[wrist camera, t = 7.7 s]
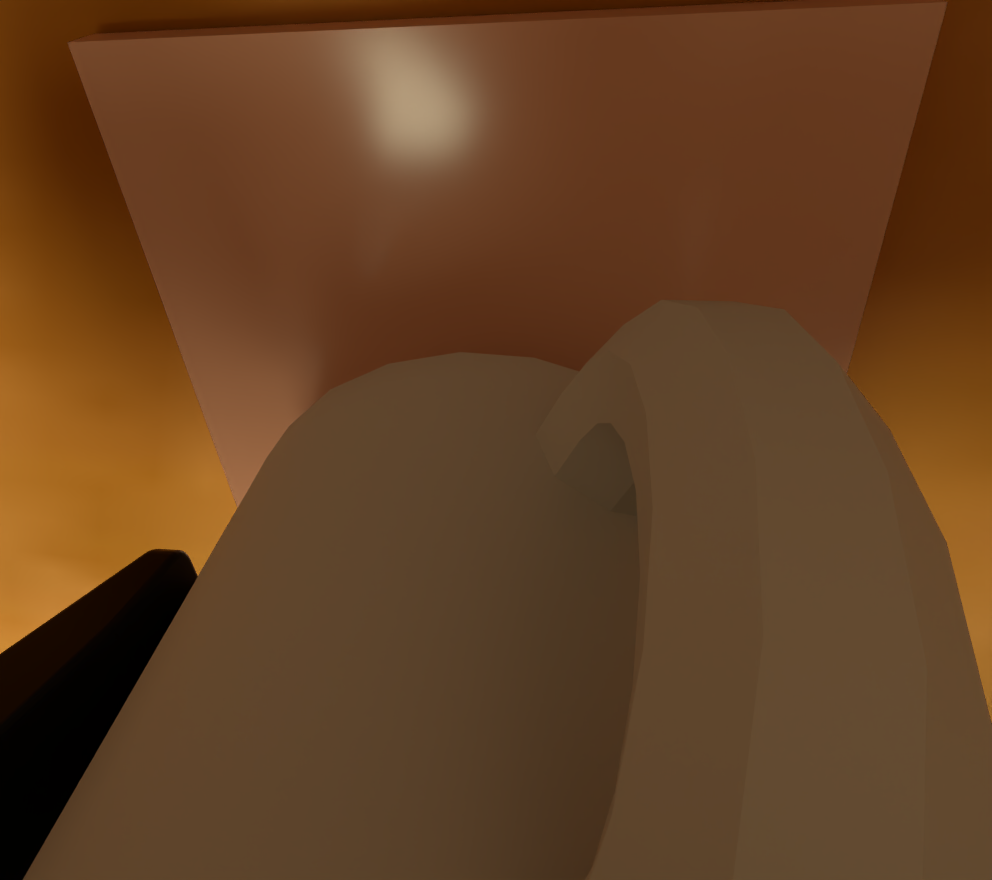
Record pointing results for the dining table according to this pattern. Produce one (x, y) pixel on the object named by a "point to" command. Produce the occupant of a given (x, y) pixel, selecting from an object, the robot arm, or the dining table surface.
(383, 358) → the coaster pad
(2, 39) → the dining table surface
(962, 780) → the cup
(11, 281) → the dining table surface
